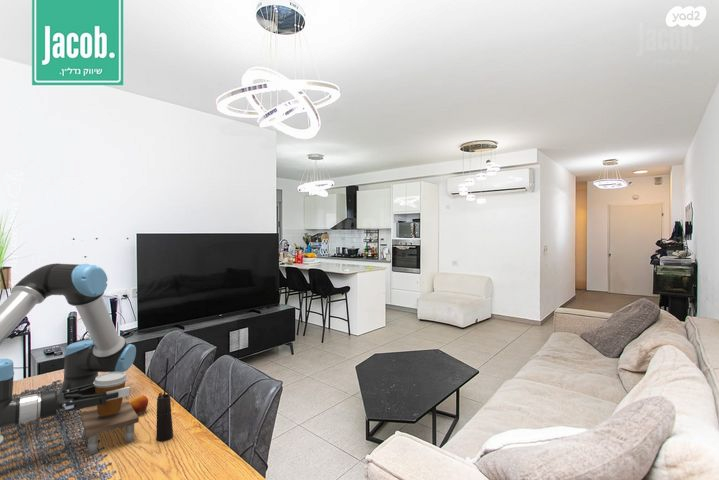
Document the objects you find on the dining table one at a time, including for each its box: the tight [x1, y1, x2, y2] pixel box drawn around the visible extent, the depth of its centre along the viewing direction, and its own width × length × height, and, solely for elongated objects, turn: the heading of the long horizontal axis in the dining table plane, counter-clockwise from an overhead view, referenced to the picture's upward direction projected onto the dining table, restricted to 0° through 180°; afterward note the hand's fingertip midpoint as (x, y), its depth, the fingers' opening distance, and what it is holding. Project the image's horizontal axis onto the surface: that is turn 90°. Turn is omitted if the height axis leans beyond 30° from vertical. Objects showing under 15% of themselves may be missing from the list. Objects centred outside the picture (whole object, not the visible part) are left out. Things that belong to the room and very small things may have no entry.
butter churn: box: [155, 358, 174, 443], centre depth 121 cm, size 9×10×28 cm
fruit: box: [127, 394, 149, 417], centre depth 136 cm, size 8×8×8 cm
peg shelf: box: [79, 400, 140, 456], centre depth 119 cm, size 16×14×8 cm
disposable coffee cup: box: [93, 372, 128, 416], centre depth 119 cm, size 10×10×12 cm
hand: (126, 386), depth 122 cm, fingers closed on disposable coffee cup, 8 cm apart
